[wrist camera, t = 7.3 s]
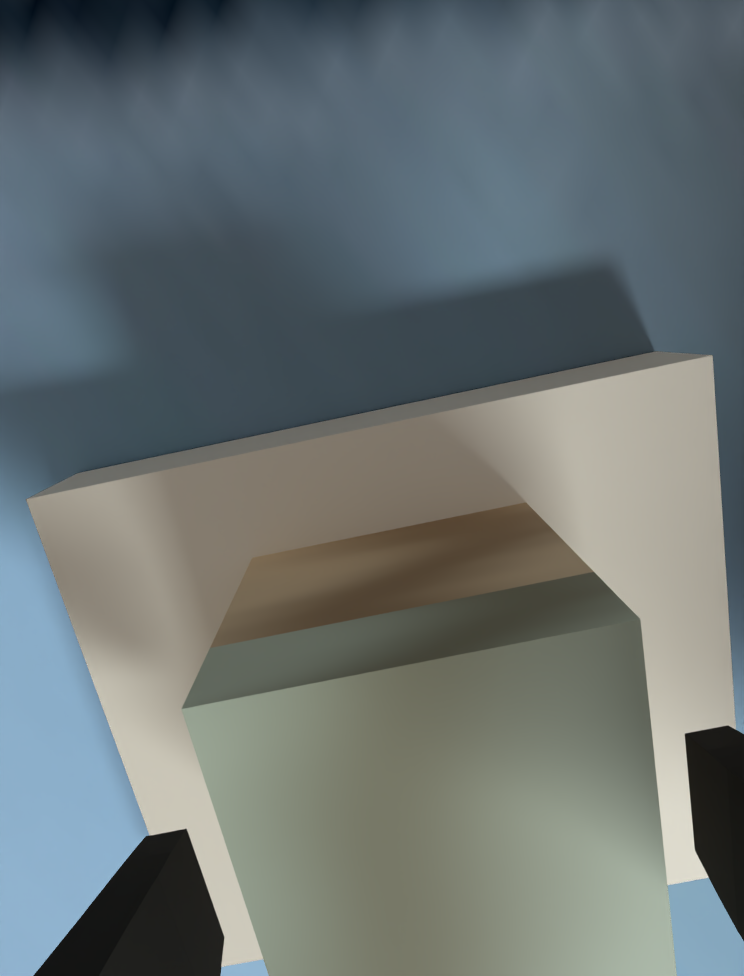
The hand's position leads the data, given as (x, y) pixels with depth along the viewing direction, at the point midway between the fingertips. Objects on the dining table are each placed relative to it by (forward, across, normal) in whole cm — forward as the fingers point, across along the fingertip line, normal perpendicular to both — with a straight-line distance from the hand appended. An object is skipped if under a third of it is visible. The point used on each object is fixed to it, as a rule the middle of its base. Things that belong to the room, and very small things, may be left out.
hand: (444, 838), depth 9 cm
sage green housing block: (+3, 0, 0) cm, 3 cm away
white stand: (+5, 0, 0) cm, 5 cm away
